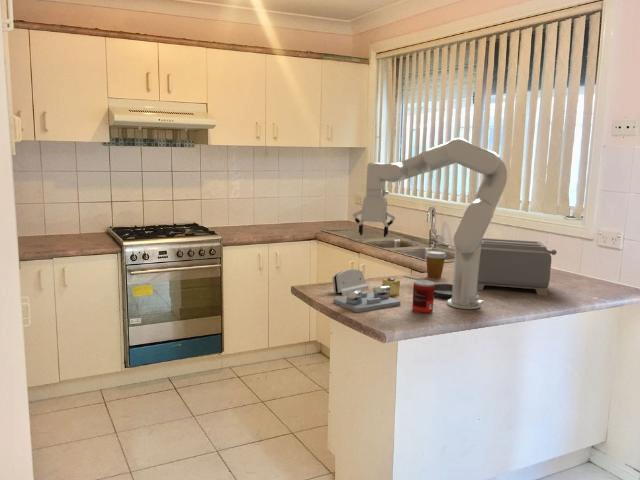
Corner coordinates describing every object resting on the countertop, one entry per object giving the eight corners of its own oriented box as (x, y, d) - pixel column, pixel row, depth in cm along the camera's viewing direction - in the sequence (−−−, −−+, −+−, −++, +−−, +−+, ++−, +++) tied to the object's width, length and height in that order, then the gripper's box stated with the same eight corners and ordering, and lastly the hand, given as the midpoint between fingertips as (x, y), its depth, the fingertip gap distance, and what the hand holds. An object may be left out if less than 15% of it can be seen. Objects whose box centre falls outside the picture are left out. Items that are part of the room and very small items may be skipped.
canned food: (430, 307, 216) (432, 279, 214) (435, 314, 208) (437, 285, 206) (410, 307, 215) (411, 279, 214) (414, 313, 208) (416, 284, 206)
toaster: (557, 296, 240) (562, 249, 236) (471, 289, 246) (475, 243, 243) (548, 285, 258) (552, 241, 255) (469, 279, 265) (472, 236, 262)
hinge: (342, 295, 229) (337, 271, 230) (334, 297, 232) (329, 273, 233) (369, 289, 240) (364, 266, 241) (361, 290, 244) (356, 268, 245)
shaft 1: (353, 304, 217) (353, 288, 216) (362, 306, 215) (363, 290, 214) (344, 307, 212) (345, 291, 211) (354, 309, 210) (355, 294, 209)
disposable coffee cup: (437, 274, 273) (438, 250, 271) (448, 279, 264) (450, 253, 262) (420, 275, 270) (421, 250, 268) (430, 280, 261) (432, 254, 259)
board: (375, 295, 230) (375, 288, 230) (400, 305, 218) (400, 297, 218) (333, 302, 219) (333, 294, 218) (356, 312, 206) (357, 304, 206)
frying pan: (456, 303, 224) (457, 294, 223) (391, 287, 245) (391, 279, 245) (478, 295, 237) (479, 287, 236) (414, 281, 258) (415, 273, 258)
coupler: (399, 294, 233) (400, 279, 232) (389, 296, 231) (390, 280, 230) (391, 292, 237) (392, 276, 236) (381, 293, 235) (382, 277, 234)
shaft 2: (383, 299, 226) (384, 284, 225) (391, 301, 222) (391, 286, 221) (371, 301, 222) (372, 286, 221) (378, 303, 219) (379, 288, 218)
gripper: (397, 194, 228) (395, 235, 231) (355, 191, 232) (353, 232, 235) (395, 195, 221) (393, 238, 224) (352, 193, 225) (350, 235, 228)
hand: (373, 235), depth 230 cm, fingers open, 9 cm apart
